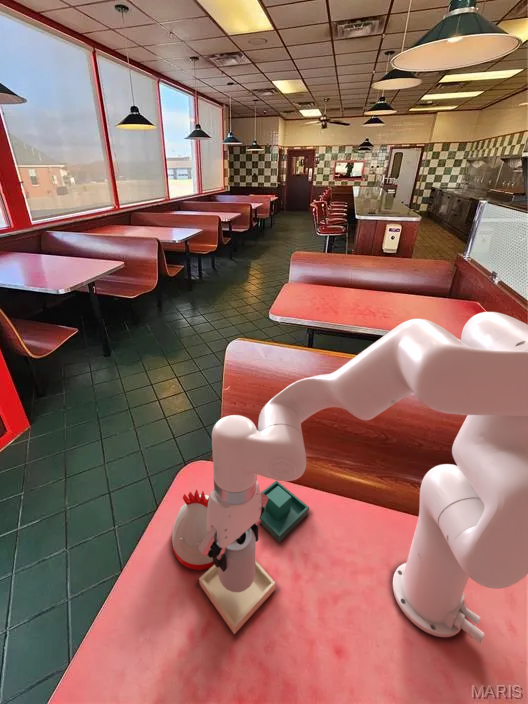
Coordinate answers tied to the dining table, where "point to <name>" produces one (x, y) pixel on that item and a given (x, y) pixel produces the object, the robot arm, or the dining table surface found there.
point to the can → (239, 563)
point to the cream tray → (237, 596)
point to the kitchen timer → (191, 532)
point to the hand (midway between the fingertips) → (236, 549)
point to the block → (278, 502)
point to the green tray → (289, 519)
